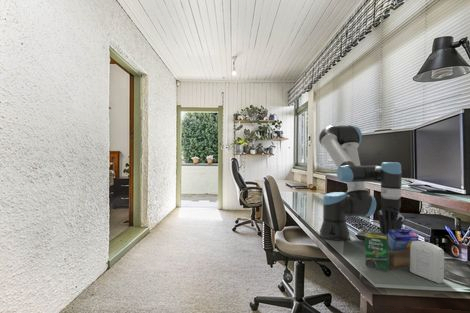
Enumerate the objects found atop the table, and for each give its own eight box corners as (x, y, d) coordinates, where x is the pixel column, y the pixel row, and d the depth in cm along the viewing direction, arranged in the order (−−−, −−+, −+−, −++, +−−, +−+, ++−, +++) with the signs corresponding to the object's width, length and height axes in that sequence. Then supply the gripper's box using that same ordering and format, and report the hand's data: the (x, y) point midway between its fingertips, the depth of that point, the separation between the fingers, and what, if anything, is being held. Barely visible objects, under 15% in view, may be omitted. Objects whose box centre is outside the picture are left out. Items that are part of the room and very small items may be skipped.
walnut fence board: (389, 267, 100) (389, 251, 100) (426, 260, 106) (426, 246, 106) (394, 269, 98) (394, 254, 98) (432, 263, 104) (432, 248, 104)
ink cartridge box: (389, 261, 106) (397, 231, 101) (381, 252, 111) (388, 223, 106) (412, 260, 106) (421, 231, 102) (403, 251, 112) (411, 223, 107)
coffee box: (364, 265, 102) (364, 232, 102) (366, 263, 104) (366, 230, 104) (387, 271, 97) (387, 236, 97) (389, 268, 99) (389, 234, 99)
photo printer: (446, 282, 88) (446, 246, 88) (439, 284, 86) (439, 248, 86) (415, 270, 98) (415, 237, 98) (407, 272, 96) (407, 239, 96)
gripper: (372, 195, 117) (371, 247, 117) (397, 200, 105) (396, 258, 105) (384, 195, 119) (384, 245, 119) (410, 199, 107) (409, 256, 107)
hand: (389, 251), depth 112 cm, fingers closed
